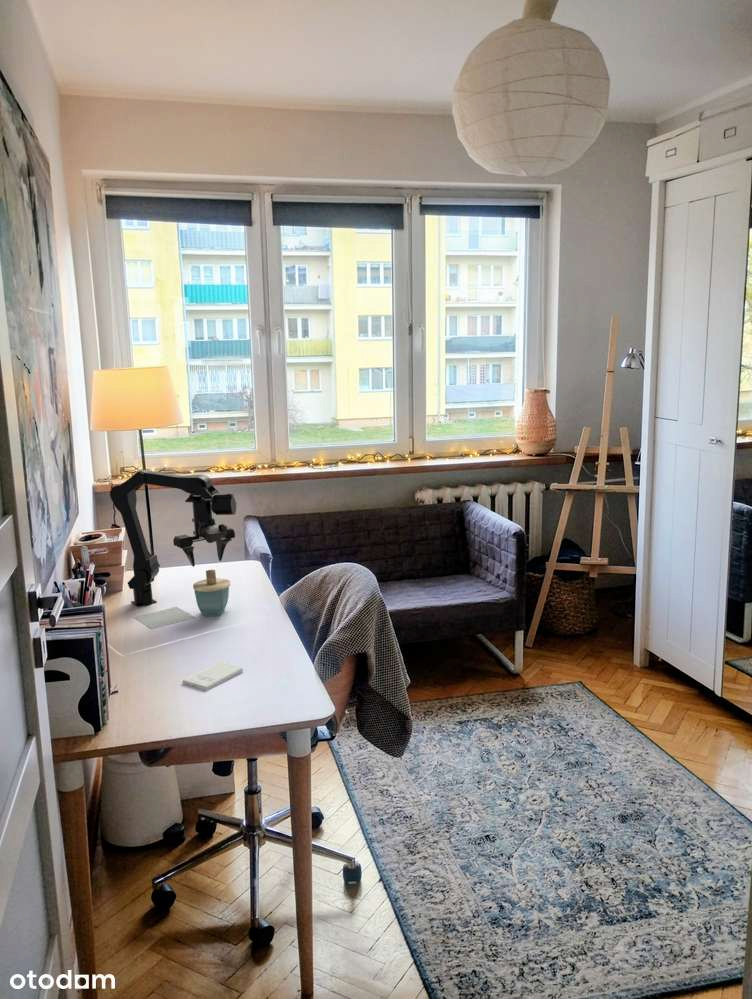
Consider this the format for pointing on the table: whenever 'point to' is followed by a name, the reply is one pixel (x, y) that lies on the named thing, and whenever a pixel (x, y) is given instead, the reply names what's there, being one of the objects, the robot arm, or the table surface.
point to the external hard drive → (212, 675)
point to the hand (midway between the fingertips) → (206, 563)
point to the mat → (164, 617)
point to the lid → (211, 583)
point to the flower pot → (212, 601)
